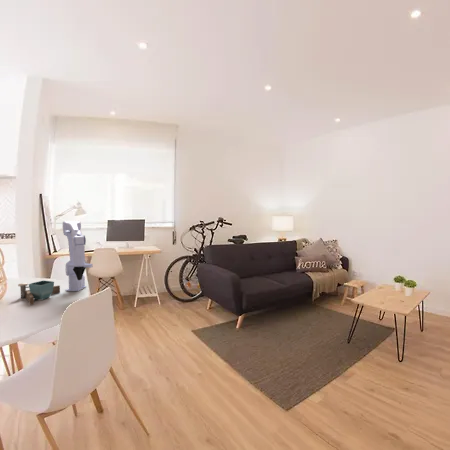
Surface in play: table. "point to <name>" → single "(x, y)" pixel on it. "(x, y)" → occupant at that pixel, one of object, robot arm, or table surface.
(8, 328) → the table surface
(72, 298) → the table surface
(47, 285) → the flower pot
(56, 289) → the v jig
